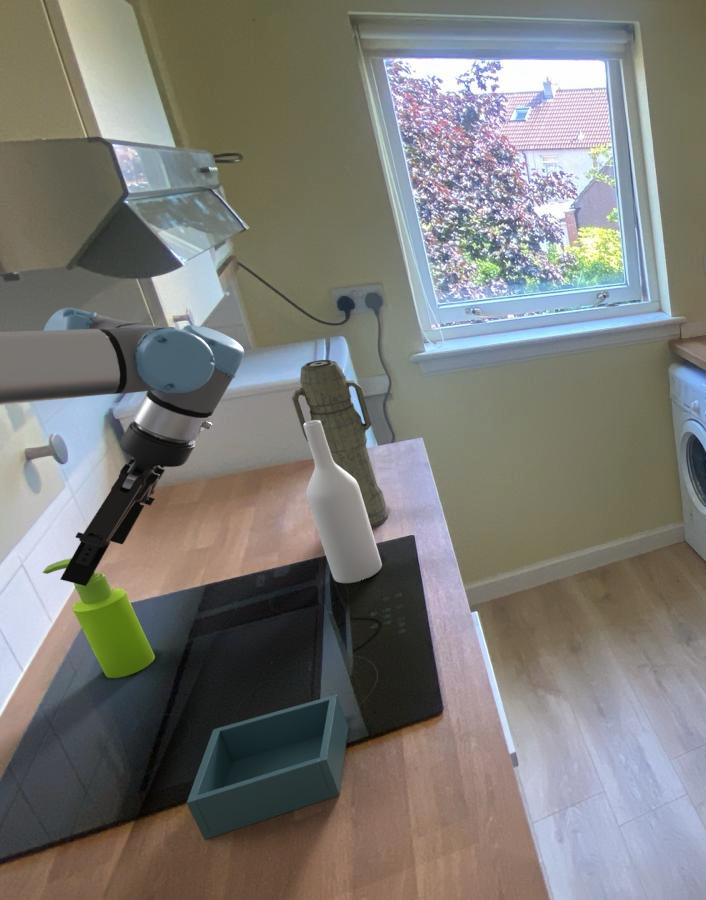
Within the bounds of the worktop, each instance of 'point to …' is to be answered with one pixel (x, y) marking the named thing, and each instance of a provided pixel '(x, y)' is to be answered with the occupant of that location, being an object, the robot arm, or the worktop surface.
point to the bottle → (339, 514)
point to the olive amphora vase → (342, 428)
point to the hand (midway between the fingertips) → (94, 560)
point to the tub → (269, 766)
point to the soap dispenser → (110, 626)
